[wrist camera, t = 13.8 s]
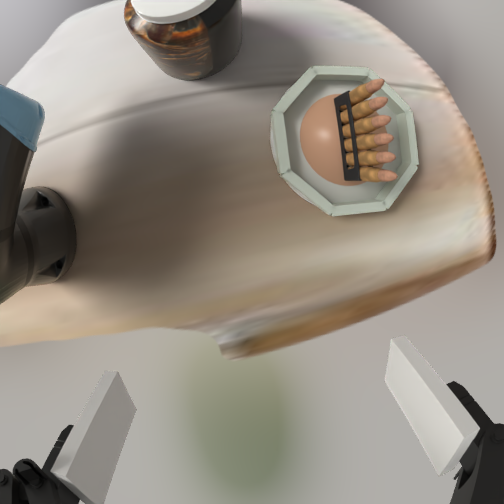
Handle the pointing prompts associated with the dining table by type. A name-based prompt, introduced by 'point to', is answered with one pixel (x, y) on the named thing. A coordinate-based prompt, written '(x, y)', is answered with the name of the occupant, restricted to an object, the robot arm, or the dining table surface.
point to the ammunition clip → (353, 109)
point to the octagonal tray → (337, 142)
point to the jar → (187, 34)
